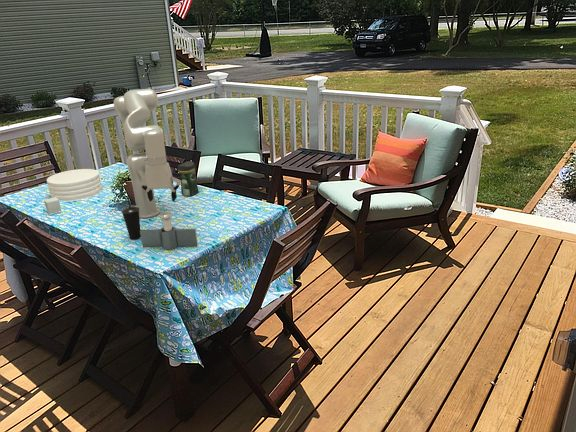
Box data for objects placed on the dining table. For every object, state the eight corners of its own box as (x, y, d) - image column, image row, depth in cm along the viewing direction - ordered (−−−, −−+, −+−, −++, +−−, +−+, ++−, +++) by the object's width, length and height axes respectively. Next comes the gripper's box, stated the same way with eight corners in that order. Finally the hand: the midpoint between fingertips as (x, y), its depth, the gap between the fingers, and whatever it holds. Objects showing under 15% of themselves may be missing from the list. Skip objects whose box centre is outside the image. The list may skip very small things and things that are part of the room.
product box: (62, 212, 250) (58, 199, 247) (49, 215, 246) (46, 202, 244) (59, 209, 254) (55, 196, 252) (46, 212, 251) (43, 199, 248)
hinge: (140, 250, 202) (137, 233, 199) (145, 243, 209) (142, 227, 206) (195, 249, 201) (193, 232, 198) (199, 242, 207) (197, 225, 204)
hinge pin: (163, 249, 203) (157, 216, 197) (166, 243, 208) (161, 212, 202) (175, 248, 202) (170, 216, 197) (178, 243, 207) (173, 211, 201)
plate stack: (91, 202, 263) (86, 182, 259) (42, 203, 265) (37, 184, 260) (109, 186, 289) (106, 168, 285) (65, 187, 290) (60, 169, 286)
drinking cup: (128, 234, 219) (121, 194, 211) (145, 233, 219) (138, 192, 211) (124, 241, 212) (116, 199, 204) (142, 240, 212) (134, 198, 204)
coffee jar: (189, 190, 274) (185, 159, 267) (200, 192, 271) (196, 160, 264) (179, 196, 266) (174, 164, 259) (190, 197, 263) (186, 165, 256)
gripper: (132, 163, 187) (139, 203, 194) (175, 163, 186) (180, 203, 193) (139, 158, 194) (145, 197, 201) (180, 157, 193) (185, 196, 200)
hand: (162, 200), depth 197 cm, fingers open, 9 cm apart
